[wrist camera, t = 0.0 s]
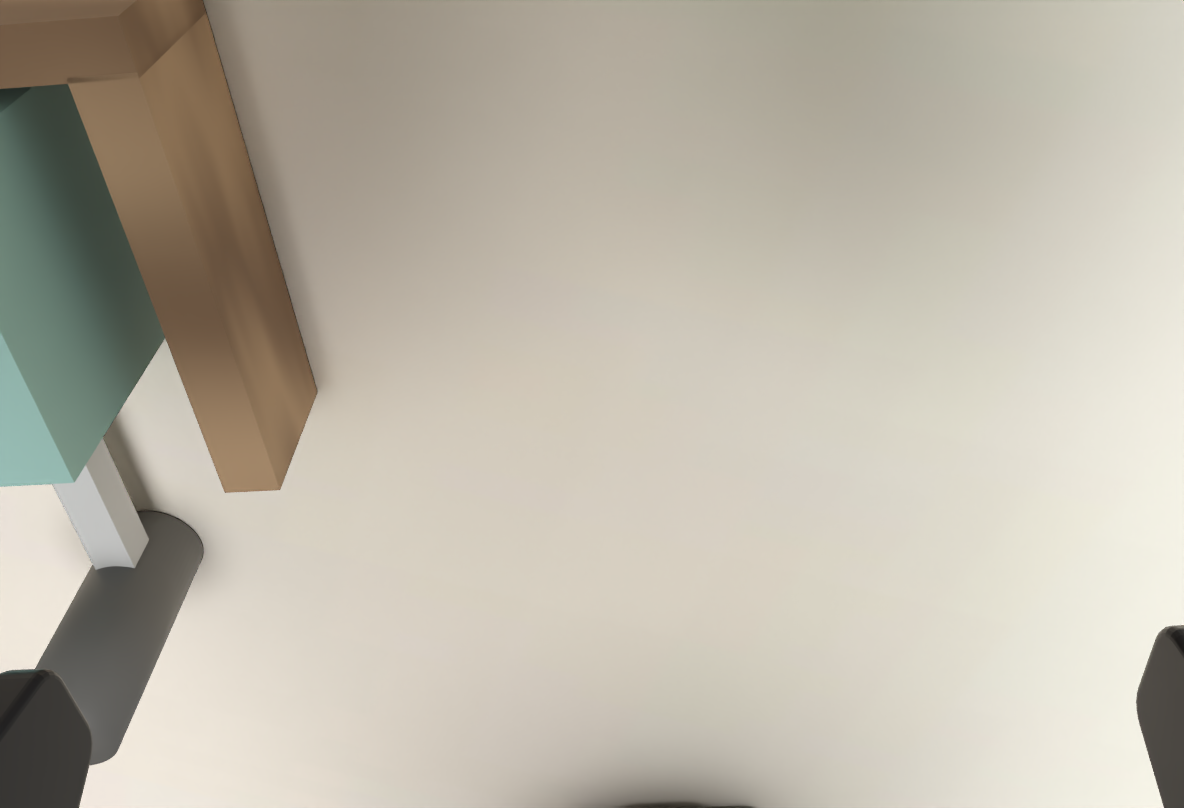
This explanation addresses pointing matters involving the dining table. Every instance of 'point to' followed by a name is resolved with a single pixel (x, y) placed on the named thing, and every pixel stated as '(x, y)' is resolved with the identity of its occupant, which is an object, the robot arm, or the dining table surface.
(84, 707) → the block
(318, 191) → the dining table surface
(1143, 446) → the dining table surface
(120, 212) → the brown wooden square frame
